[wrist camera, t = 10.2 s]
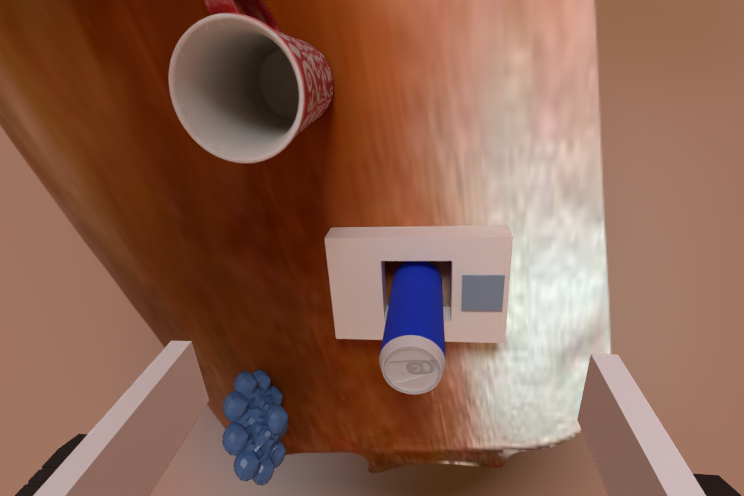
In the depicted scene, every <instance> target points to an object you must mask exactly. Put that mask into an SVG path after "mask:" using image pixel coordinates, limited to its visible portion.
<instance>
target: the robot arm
mask: <svg viewBox="0 0 744 496" xmlns="http://www.w3.org/2000/svg"><path fill="white" fill-rule="evenodd" d="M208 402H209V398H208V395H207V391H206V388H205V385H204V381H203V378H202V375H201V371H200V368H199V365H198V361H197V358H196V355H195V351H194V348H193V344H192V341H170V343H169V344H168V345H167V346H166V347H165V348H164V349H163V351H162V352H161V353H160V354H159V355H158V356H157V357H156V358H155V359H154V361H153V362H152V363H151V364H150V365H149V366H148V367H147V368H146V370H145V371H144V372H143V373H142V374H141V375H140V376H139V377H138V379H137V380H136V381H135V382H134V383H133V384H132V385H131V386H130V388H129V389H128V390H127V391H126V392H125V393H124V394H123V396H121V398H120V399H119V400H118V401H117V402H116V403H115V404H114V406H113V407H112V408H111V409H110V410H109V411H108V412H107V413H106V414H105V416H104V417H103V418H102V419H101V420H100V421H99V422H98V423H97V425H96V426H95V427H94V428H93V429H92V430H91V431H90V433H89V434H88V435H87V434H86V435H85V434H78V435H77V436H76V437H74V438H73V439H72V440H70V441H69V442H67V443H66V444H65V445H63V446H62V447H61V448H59V449H58V450H57V451H56V452H55V453H54V454H53V455H52V456H51V458H50V459H49V460H48V461H47V462H46V463H45V464H44V465H43V466H42V469H41V470H38V472H37V473H36V474H35V475H34V476H33V477H32V478H31V479H30V480H29V483H28V484H27V485H24V487H23V488H22V489H21V490H20V491H19V492H18V493H17V494H16V495H15V496H150V494H151V492H152V491H153V489H154V488H155V486H156V484H157V483H158V481H159V480H160V478H161V476H162V475H163V473H164V472H165V470H166V468H167V467H168V465H169V464H170V462H171V461H172V459H173V457H174V456H175V454H176V452H177V451H178V449H179V448H180V446H181V444H182V443H183V441H184V440H185V438H186V437H187V435H188V433H189V432H190V430H191V429H192V427H193V425H194V424H195V422H196V421H197V419H198V418H199V416H200V414H201V412H202V411H203V410H204V408H205V406H206V405H207V403H208ZM578 422H579V424H580V427H581V429H582V432H583V434H584V437H585V439H586V442H587V444H588V447H589V449H590V451H591V454H592V457H593V459H594V461H595V464H596V466H597V469H598V471H599V474H600V476H601V479H602V481H603V484H604V486H605V488H606V491H607V493H608V496H741V495H740V494H739V493H738V492H737V491H736V490H734V489H733V488H732V487H731V486H730V485H729V484H728V483H726V482H725V481H724V480H723V479H722V478H721V477H720V476H718V475H703V474H692V472H691V471H690V469H689V467H688V466H687V464H686V463H685V461H684V459H683V458H682V457H681V455H680V453H679V451H678V450H677V448H676V447H675V445H674V444H673V442H672V441H671V439H670V437H669V436H668V434H667V432H666V431H665V429H664V428H663V426H662V424H661V423H660V421H659V420H658V418H657V416H656V415H655V413H654V412H653V410H652V408H651V407H650V405H649V404H648V402H647V400H646V399H645V397H644V396H643V394H642V392H641V391H640V389H639V388H638V386H637V384H636V383H635V381H634V380H633V378H632V377H631V375H630V373H629V372H628V370H627V368H626V367H625V365H624V364H623V362H622V360H621V359H620V357H619V356H618V355H610V354H591V357H590V362H589V367H588V372H587V376H586V381H585V386H584V391H583V396H582V401H581V406H580V410H579V415H578Z"/></svg>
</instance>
